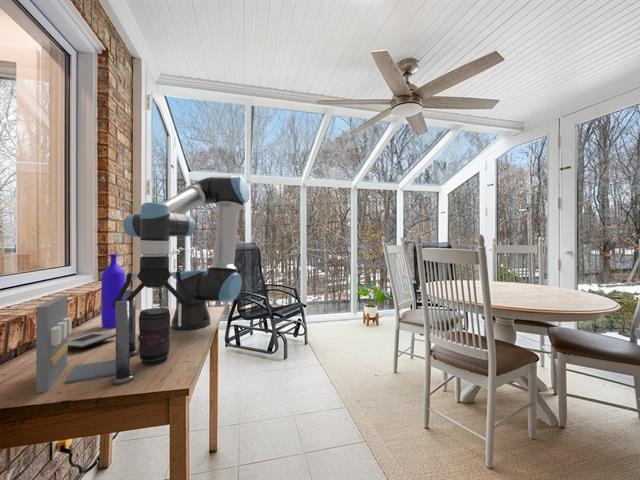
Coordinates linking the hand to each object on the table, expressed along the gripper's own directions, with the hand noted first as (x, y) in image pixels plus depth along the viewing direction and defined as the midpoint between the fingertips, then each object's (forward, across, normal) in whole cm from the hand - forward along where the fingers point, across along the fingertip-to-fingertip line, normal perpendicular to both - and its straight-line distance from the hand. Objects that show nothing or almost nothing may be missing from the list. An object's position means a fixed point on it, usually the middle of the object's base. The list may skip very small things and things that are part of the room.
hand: (153, 328), depth 89 cm
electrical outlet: (+10, +16, -24) cm, 31 cm away
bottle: (+10, +16, -51) cm, 55 cm away
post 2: (+10, +7, -10) cm, 16 cm away
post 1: (+10, +7, +10) cm, 15 cm away
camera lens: (+10, 0, 0) cm, 10 cm away
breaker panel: (+10, +23, 0) cm, 25 cm away
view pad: (+10, +14, 0) cm, 17 cm away
